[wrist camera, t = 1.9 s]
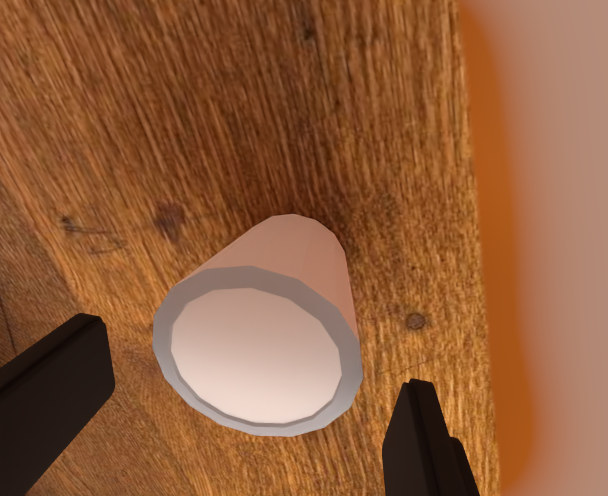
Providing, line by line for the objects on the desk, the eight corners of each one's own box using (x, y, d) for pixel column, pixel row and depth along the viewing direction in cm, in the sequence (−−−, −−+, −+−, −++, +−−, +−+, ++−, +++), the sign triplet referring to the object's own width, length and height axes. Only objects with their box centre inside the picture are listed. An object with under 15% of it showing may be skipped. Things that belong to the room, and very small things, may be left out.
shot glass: (224, 195, 15) (131, 254, 9) (367, 207, 14) (379, 281, 8) (231, 313, 18) (164, 423, 12) (352, 328, 17) (351, 455, 11)
